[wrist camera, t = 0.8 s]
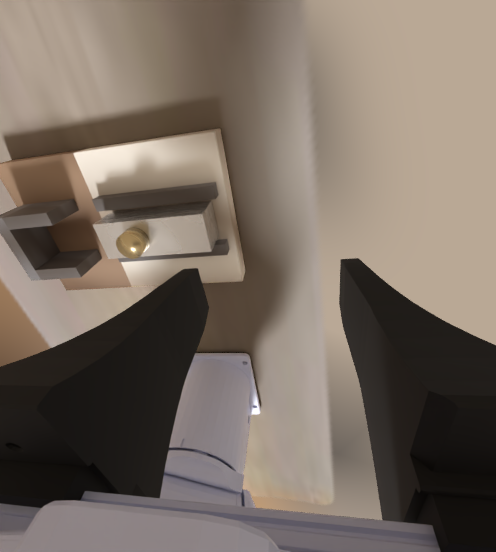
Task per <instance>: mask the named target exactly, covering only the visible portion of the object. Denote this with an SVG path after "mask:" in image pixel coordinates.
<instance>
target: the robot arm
mask: <svg viewBox="0 0 496 552" xmlns="http://www.w3.org/2000/svg"><path fill="white" fill-rule="evenodd" d="M339 302H340V303H339V304H340V310H341V317H342V323H343V327H344V331H345V335H346V338H347V342H348V345H349V348H350V352H351V355H352V358H353V362H354V365H355V368H356V372H357V375H358V378H359V383H360V387H361V392H362V397H363V403H364V408H365V414H366V419H367V425H368V431H369V436H370V442H371V448H372V454H373V460H374V467H375V473H376V479H377V486H378V492H379V499H380V505H381V512H382V519H383V520H374V519H364V518H354V517H344V516H333V515H323V514H314V513H303V512H293V511H283V510H273V509H263V508H255V504H254V502H253V500H252V497H251V494H250V492H249V491H248V490H243V489H242V487H243V479H244V475H243V471H244V467H245V461H246V453H247V445H248V437H249V428H250V420H251V414H259V413H260V410H261V409H260V404H259V399H258V394H257V390H256V385H255V380H254V375H253V370H252V365H251V360H250V356H249V355H248V354H246V353H196V350H197V347H198V345H199V342H200V339H201V337H202V334H203V331H204V328H205V324H206V319H207V315H208V309H209V306H208V303H207V299H206V295H205V292H204V288H203V285H202V281H201V278H200V274H199V270H198V268H191V269H183V270H181V271H180V272H178V273H177V274H175V275H174V276H172V277H171V278H170V279H168V280H167V281H166V282H164V283H163V284H162V285H160V286H159V287H158V288H156V289H155V290H153V291H152V292H151V293H149V294H148V295H147V296H145V297H144V298H142V299H141V300H139V301H138V302H137V303H135V304H134V305H132V306H131V307H129V308H128V309H126V310H125V311H123V312H122V313H120V314H118V315H117V316H115V317H113V318H112V319H110V320H108V321H106V322H105V323H103V324H101V325H99V326H97V327H95V328H93V329H91V330H89V331H87V332H85V333H83V334H81V335H79V336H77V337H75V338H73V339H71V340H69V341H67V342H64V343H62V344H60V345H57V346H55V347H53V348H50V349H48V350H46V351H43V352H40V353H38V354H36V355H33V356H30V357H27V358H25V359H22V360H19V361H16V362H13V363H10V364H7V365H4V366H1V367H0V552H496V345H494V344H491V343H489V342H487V341H485V340H482V339H480V338H478V337H476V336H473V335H471V334H469V333H467V332H465V331H463V330H461V329H459V328H457V327H455V326H453V325H451V324H449V323H447V322H445V321H443V320H442V319H440V318H438V317H436V316H435V315H433V314H431V313H429V312H428V311H426V310H424V309H423V308H421V307H419V306H418V305H416V304H415V303H413V302H412V301H410V300H409V299H408V298H406V297H405V296H403V295H402V294H400V293H399V292H398V291H396V290H395V289H394V288H392V287H391V286H390V285H388V284H387V283H386V282H385V281H384V280H382V279H381V278H380V277H379V276H378V275H376V274H375V273H374V272H373V271H372V270H371V269H370V268H369V267H367V266H366V265H365V264H364V263H363V262H362V261H361V260H359V259H358V258H357V259H342V260H341V270H340V301H339ZM245 361H246V362H245Z"/></svg>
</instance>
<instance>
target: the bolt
mask: <svg viewBox="0 0 496 552" xmlns="http://www.w3.org/2000/svg"><path fill="white" fill-rule="evenodd" d="M93 227H94V229H95V231H96V233H97V235H98V237H99V240H100V242H101V244H102V246H103V248H104V250H105V253H106V255H107V257H108V259H116V258H130V259H136V258H139V257H144V256H158V255H172V254H186V253H200V252H212V250H213V248H214V245H215V243H216V241H217V239H218V237H219V233H218V229H217V224H216V219H215V215H214V210H213V206H212V201H207V202H198V203H188V204H179V205H170V206H160V207H151V208H141V209H132V210H122V211H113V212H110V213H109V214H107V215H106V216H104V217H103V218H102V219H100V220H99V221H97V222H96V223H94V224H93Z"/></svg>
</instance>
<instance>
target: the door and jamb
mask: <svg viewBox="0 0 496 552" xmlns="http://www.w3.org/2000/svg"><path fill="white" fill-rule="evenodd" d="M0 179H1V180H2V182H3V184H4V185H5V187H6V189H7V190H8V192H9V194H10V196H11V197H12V199H13V201H14V202H15V204H16V206H17V208H15V209H13V210H10V211H8V212H6V213H3V214H1V215H0V233H1V235H2V236H3V238H4V239H5V241H6V242H7V244H8V246H9V247H10V249H11V250H12V252H13V253H14V255H15V256H16V258H17V259H18V261H19V262H20V264H21V265H22V267H23V268H24V270H25V271H26V273H27V274H28V276H29V277H30V279H31V280H48V279H60V280H61V282H62V283H63V285H64V287H65V288H66V290H80V289H100V288H120V287H140V286H160V285H162V284H163V283H164V282H166V281H167V280H168V279H170V278H171V277H172V276H174V275H175V274H177V273H178V272H180V271H181V270H183V269H191V268H198V270H199V274H200V278H201V281H202V283H220V282H239V281H243V278H244V274H245V265H244V259H243V254H242V248H241V242H240V237H239V231H238V225H237V220H236V214H235V208H234V203H233V197H232V192H231V186H230V180H229V175H228V169H227V163H226V158H225V152H224V146H223V141H222V135H221V129H220V128H218V129H212V130H205V131H199V132H192V133H186V134H179V135H173V136H166V137H160V138H153V139H147V140H140V141H134V142H127V143H121V144H114V145H108V146H101V147H95V148H88V149H82V150H75V151H69V152H62V153H56V154H49V155H43V156H36V157H30V158H23V159H17V160H11V161H7V162H3V163H0ZM207 201H212V206H213V210H214V215H215V219H216V224H217V229H218V233H219V237H218V239H217V241H216V243H215V245H214V248H213V250H212V252H200V253H186V254H172V255H158V256H144V257H139V258H136V259H130V258H116V259H108V257H107V255H106V253H105V250H104V248H103V246H102V244H101V242H100V240H99V237H98V235H97V233H96V231H95V229H94V227H93V224H94V223H96V222H97V221H99V220H100V219H102V218H103V217H104V216H106V215H107V214H109V213H110V212H113V211H122V210H132V209H141V208H151V207H160V206H170V205H179V204H188V203H198V202H207Z"/></svg>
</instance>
